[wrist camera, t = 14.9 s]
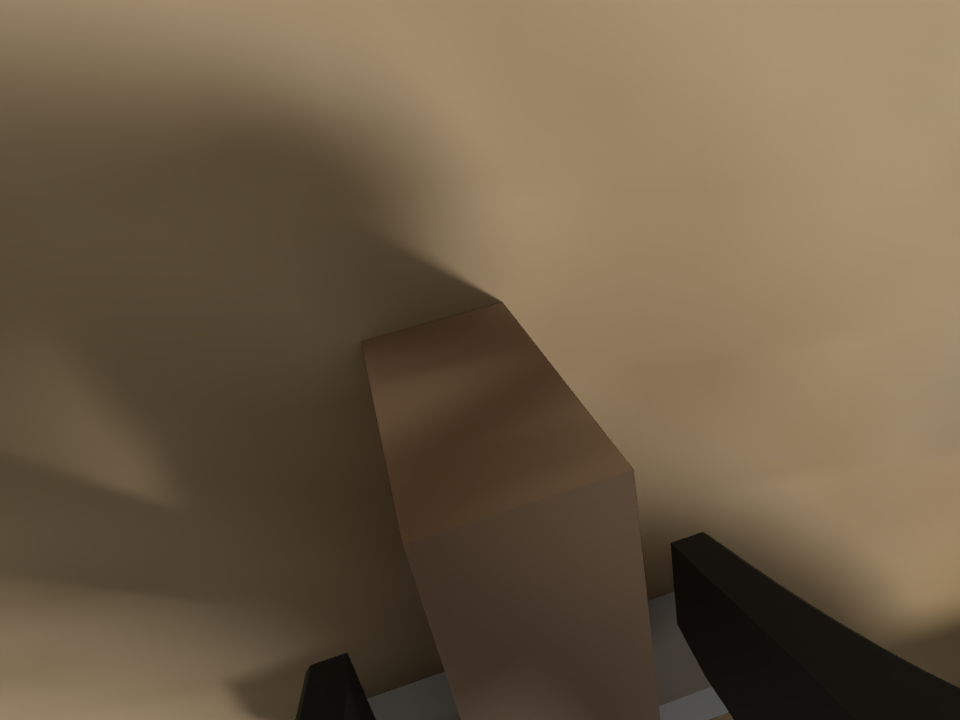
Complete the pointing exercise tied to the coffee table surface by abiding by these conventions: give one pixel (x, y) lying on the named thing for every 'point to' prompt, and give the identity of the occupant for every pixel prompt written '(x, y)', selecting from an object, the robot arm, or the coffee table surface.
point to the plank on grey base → (520, 537)
